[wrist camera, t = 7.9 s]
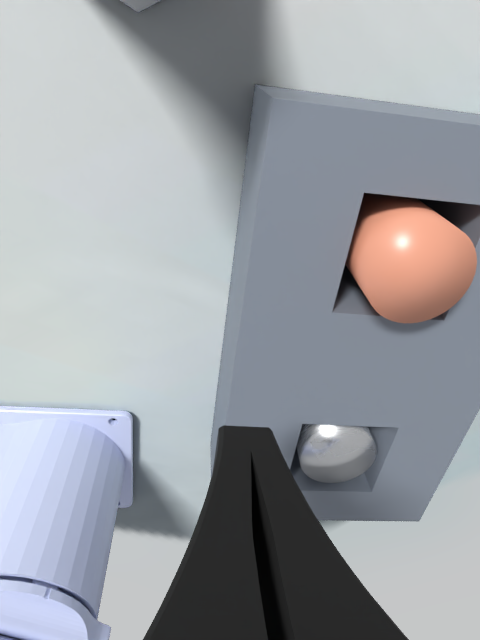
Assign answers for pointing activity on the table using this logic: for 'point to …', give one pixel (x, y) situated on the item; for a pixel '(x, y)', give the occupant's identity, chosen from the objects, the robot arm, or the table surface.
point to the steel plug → (335, 451)
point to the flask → (139, 4)
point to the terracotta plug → (409, 258)
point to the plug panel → (348, 296)
